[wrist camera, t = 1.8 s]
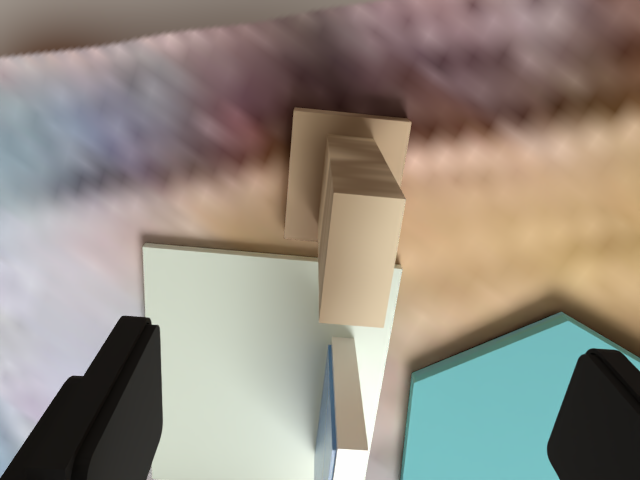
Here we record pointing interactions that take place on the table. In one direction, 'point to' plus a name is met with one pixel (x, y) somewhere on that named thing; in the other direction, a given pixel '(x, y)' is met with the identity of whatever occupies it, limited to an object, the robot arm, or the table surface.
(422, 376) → the plaque
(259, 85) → the table surface
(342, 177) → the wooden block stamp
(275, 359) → the board
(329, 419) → the tile
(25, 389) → the table surface
